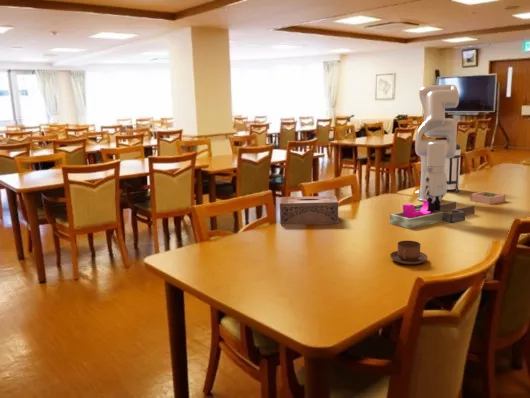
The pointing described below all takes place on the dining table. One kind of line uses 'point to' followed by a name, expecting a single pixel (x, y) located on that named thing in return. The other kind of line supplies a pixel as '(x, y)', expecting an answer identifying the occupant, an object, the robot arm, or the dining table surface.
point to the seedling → (489, 195)
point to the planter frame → (487, 198)
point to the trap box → (433, 216)
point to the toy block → (412, 213)
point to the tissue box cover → (309, 210)
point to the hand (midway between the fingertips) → (434, 210)
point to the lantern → (453, 170)
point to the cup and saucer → (408, 253)
